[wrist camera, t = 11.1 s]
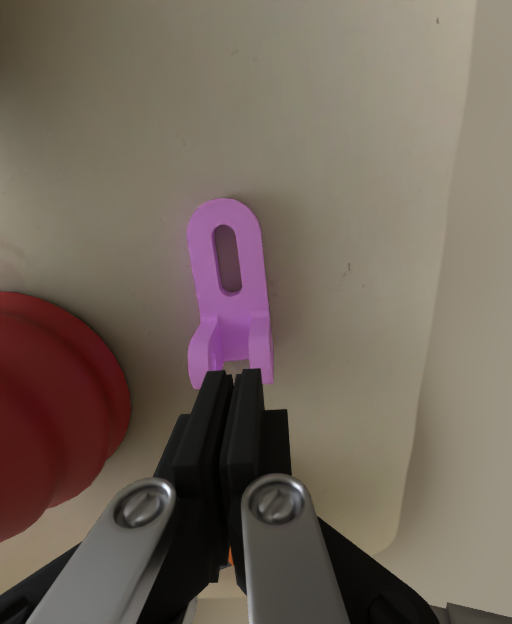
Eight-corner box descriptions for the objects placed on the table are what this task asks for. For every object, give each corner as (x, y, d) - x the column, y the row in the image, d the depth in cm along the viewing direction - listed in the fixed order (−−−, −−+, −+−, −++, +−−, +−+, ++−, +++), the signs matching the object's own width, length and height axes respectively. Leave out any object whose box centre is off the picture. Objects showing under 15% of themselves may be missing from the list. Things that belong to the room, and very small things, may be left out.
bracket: (273, 350, 30) (273, 394, 23) (211, 355, 30) (193, 399, 24) (257, 194, 26) (251, 193, 19) (185, 202, 26) (155, 204, 19)
